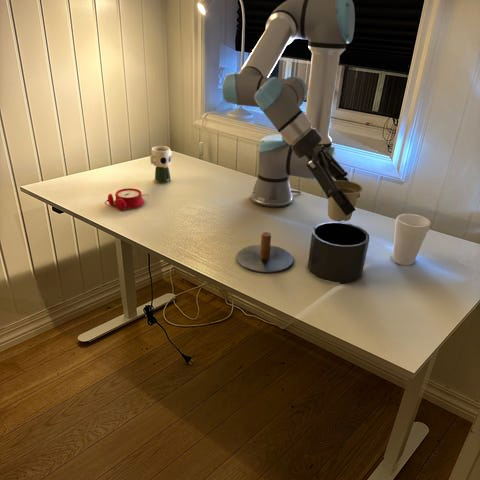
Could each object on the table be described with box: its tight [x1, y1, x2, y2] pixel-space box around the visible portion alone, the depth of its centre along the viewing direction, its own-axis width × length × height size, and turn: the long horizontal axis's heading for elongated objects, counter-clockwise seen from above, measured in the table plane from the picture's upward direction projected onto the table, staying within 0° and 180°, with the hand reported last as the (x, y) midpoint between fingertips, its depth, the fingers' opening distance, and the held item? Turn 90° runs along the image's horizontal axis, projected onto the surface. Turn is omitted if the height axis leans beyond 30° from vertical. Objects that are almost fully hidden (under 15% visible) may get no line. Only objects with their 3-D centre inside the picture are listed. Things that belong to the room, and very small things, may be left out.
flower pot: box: [327, 179, 364, 222], centre depth 128 cm, size 9×9×9 cm
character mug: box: [149, 145, 173, 184], centre depth 191 cm, size 11×7×13 cm, turn 139°
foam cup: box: [392, 213, 431, 266], centre depth 143 cm, size 10×9×13 cm
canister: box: [306, 221, 370, 285], centre depth 137 cm, size 16×16×12 cm
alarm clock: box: [104, 187, 149, 211], centre depth 172 cm, size 10×6×15 cm
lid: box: [235, 231, 294, 274], centre depth 140 cm, size 17×17×9 cm
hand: (353, 205), depth 128 cm, fingers closed on flower pot, 9 cm apart
